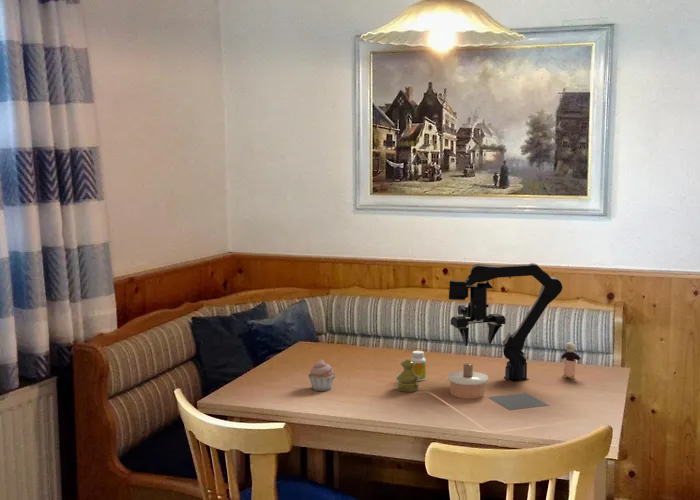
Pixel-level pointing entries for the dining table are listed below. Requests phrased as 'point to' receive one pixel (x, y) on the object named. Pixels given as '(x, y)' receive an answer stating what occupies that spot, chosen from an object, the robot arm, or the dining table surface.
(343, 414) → the dining table surface
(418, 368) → the supplement bottle
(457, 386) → the bowl
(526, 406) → the mat
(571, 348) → the grandmother figurine
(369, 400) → the dining table surface
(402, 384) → the olive green figurine
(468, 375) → the lid
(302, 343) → the dining table surface
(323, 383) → the cupcake
